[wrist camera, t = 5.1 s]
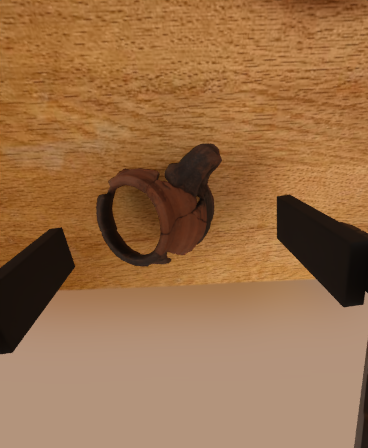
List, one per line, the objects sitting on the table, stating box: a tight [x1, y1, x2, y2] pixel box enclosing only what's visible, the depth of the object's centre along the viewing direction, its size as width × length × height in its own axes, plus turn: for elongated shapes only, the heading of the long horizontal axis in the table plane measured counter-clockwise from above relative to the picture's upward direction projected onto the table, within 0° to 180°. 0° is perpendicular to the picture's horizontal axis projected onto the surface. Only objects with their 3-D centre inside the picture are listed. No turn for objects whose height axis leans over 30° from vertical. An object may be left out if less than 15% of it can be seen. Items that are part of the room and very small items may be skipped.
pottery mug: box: [96, 144, 222, 266], centre depth 22 cm, size 12×10×8 cm
